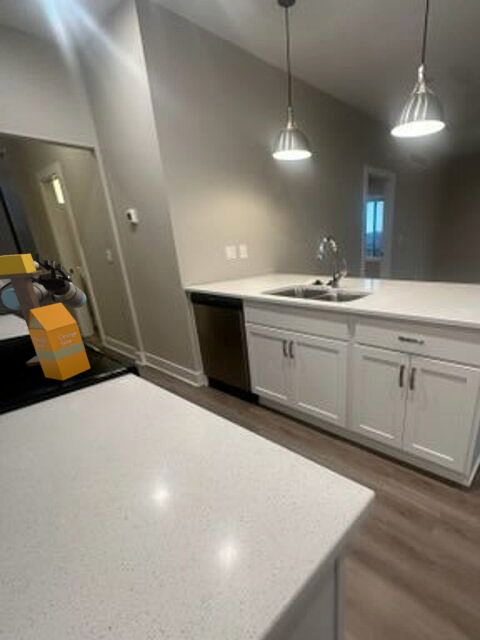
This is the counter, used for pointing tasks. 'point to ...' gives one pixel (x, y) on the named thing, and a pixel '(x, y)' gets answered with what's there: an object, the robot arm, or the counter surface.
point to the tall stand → (25, 298)
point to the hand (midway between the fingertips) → (22, 258)
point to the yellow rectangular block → (17, 264)
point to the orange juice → (57, 342)
